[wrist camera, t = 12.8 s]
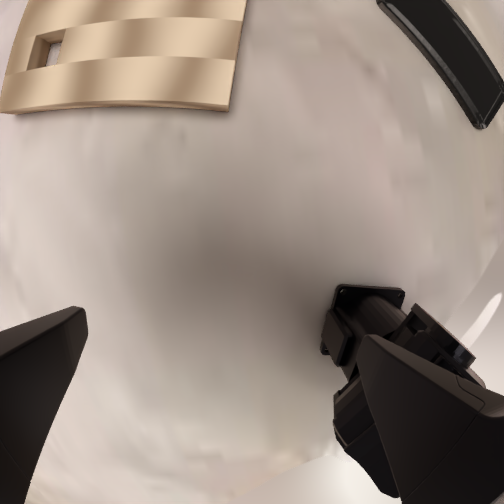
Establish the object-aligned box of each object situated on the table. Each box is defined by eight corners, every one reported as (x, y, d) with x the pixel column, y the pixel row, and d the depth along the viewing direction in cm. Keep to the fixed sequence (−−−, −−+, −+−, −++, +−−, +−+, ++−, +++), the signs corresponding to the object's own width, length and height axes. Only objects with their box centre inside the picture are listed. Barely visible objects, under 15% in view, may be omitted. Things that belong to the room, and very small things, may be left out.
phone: (482, 133, 19) (374, -4, 15) (475, 133, 20) (369, 1, 16) (509, 91, 18) (416, -31, 14) (502, 92, 19) (411, -26, 15)
